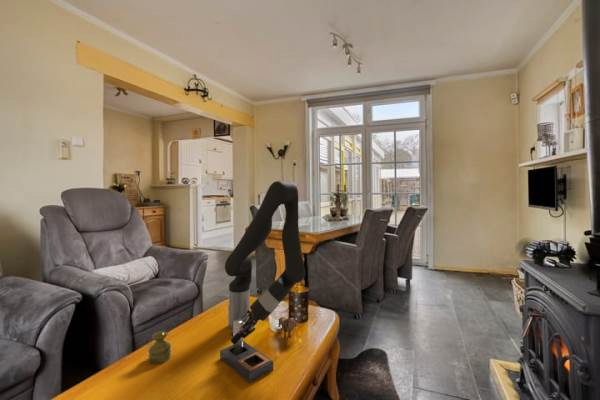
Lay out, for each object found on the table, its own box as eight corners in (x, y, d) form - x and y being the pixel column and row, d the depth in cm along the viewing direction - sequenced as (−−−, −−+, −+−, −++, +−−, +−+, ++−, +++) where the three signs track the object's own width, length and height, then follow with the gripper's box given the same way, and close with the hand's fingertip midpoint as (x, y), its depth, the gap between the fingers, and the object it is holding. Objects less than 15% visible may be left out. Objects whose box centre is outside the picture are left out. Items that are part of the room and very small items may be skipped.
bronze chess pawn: (155, 352, 109) (155, 327, 109) (174, 353, 109) (174, 327, 109) (144, 364, 102) (143, 336, 102) (164, 364, 102) (164, 337, 101)
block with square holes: (220, 358, 106) (220, 349, 106) (242, 348, 113) (242, 339, 113) (249, 382, 92) (249, 372, 92) (273, 369, 99) (273, 360, 99)
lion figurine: (299, 339, 120) (299, 318, 119) (288, 343, 117) (288, 321, 116) (281, 325, 132) (281, 306, 131) (271, 329, 129) (271, 309, 128)
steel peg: (231, 353, 106) (231, 321, 106) (239, 349, 109) (239, 318, 108) (236, 357, 104) (236, 324, 103) (244, 353, 106) (244, 321, 106)
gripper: (257, 291, 114) (225, 324, 112) (260, 305, 100) (224, 343, 98) (270, 303, 115) (239, 336, 113) (274, 319, 102) (240, 356, 99)
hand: (232, 339), depth 106 cm, fingers closed on steel peg, 3 cm apart
